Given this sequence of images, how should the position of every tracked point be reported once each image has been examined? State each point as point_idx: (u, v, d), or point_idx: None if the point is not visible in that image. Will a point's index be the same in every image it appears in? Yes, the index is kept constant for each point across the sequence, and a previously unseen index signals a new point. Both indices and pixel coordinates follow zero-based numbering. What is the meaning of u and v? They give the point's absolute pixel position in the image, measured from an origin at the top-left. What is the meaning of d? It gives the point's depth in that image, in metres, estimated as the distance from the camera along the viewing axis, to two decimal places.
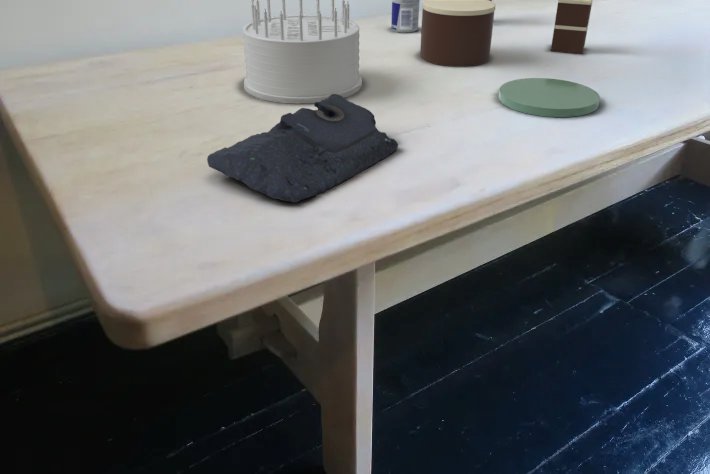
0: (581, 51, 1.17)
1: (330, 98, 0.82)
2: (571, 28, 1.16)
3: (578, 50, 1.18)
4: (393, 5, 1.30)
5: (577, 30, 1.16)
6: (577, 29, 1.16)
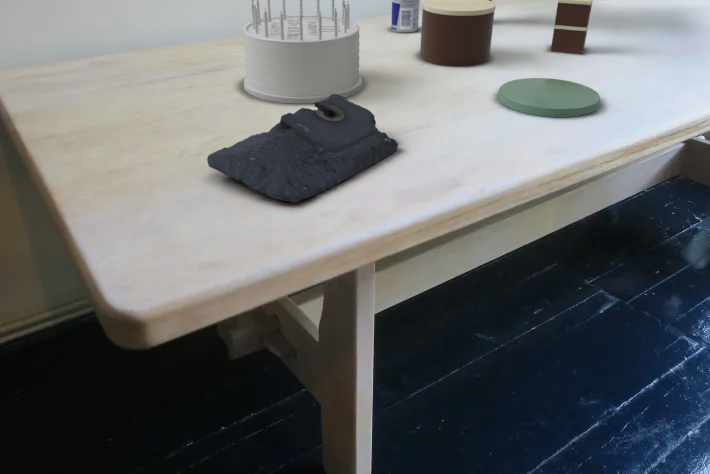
0: (581, 51, 1.17)
1: (330, 98, 0.82)
2: (571, 28, 1.16)
3: (578, 50, 1.18)
4: (393, 5, 1.30)
5: (577, 30, 1.16)
6: (577, 29, 1.16)
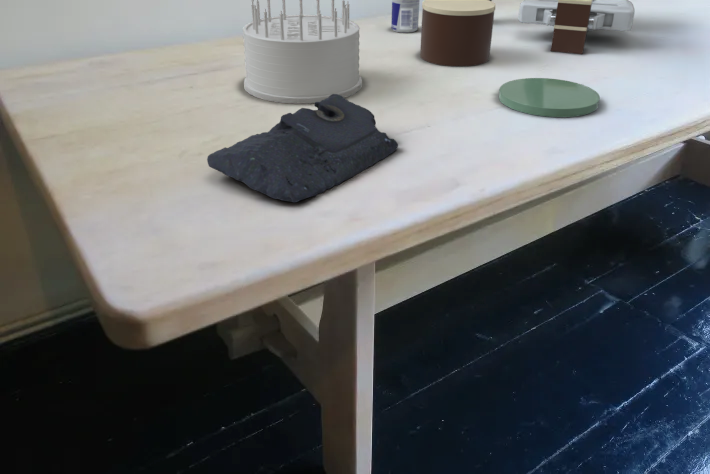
0: (581, 51, 1.17)
1: (330, 98, 0.82)
2: (571, 28, 1.16)
3: (578, 50, 1.18)
4: (393, 5, 1.30)
5: (577, 30, 1.16)
6: (577, 29, 1.16)
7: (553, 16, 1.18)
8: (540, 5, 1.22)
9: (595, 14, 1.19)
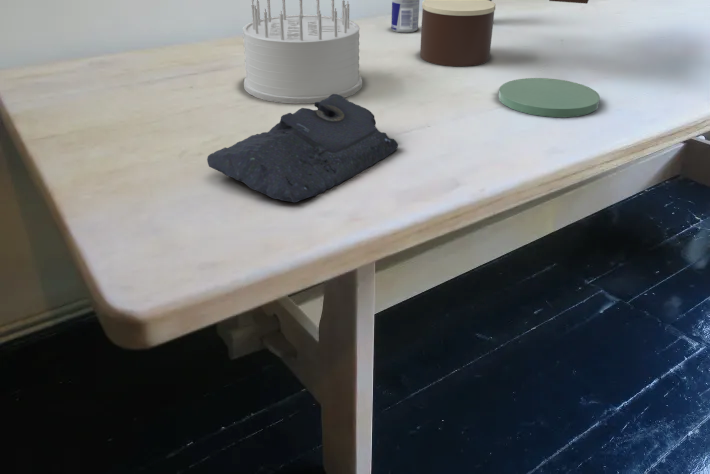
0: (586, 0, 0.97)
1: (330, 98, 0.82)
2: None
3: None
4: (393, 5, 1.30)
5: None
6: None
7: None
8: None
9: None
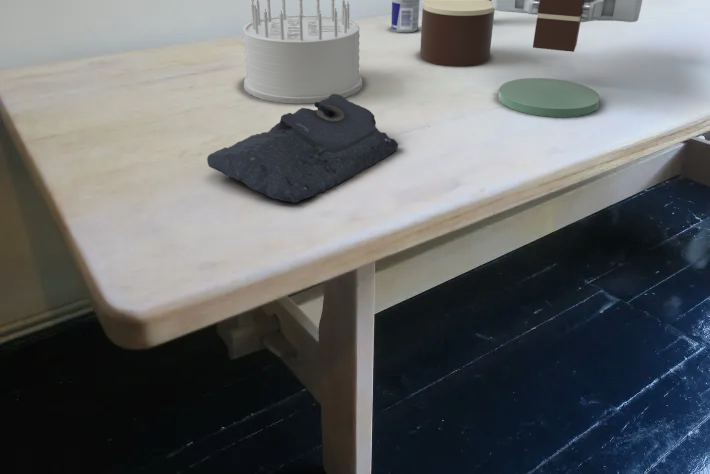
0: (572, 48, 0.89)
1: (330, 98, 0.82)
2: (559, 17, 0.88)
3: (568, 47, 0.90)
4: (393, 5, 1.30)
5: (567, 20, 0.88)
6: (567, 19, 0.88)
7: (536, 2, 0.90)
8: None
9: (591, 0, 0.91)
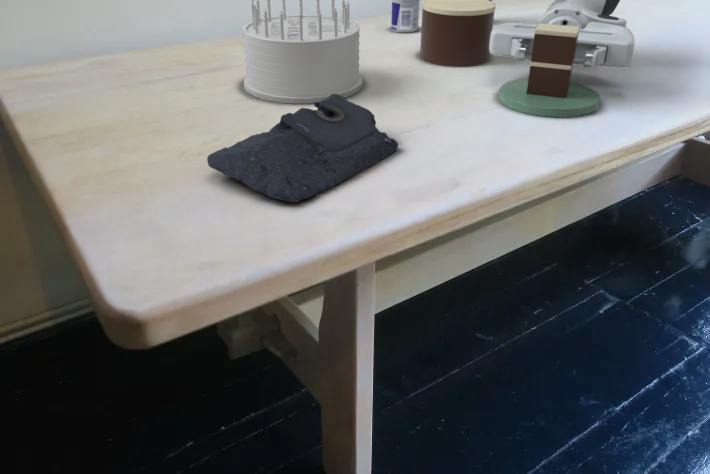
0: (564, 95, 0.93)
1: (330, 98, 0.82)
2: (552, 66, 0.92)
3: (561, 93, 0.93)
4: (393, 5, 1.30)
5: (559, 69, 0.91)
6: (559, 67, 0.91)
7: (522, 48, 0.93)
8: (515, 34, 0.97)
9: (594, 47, 0.94)
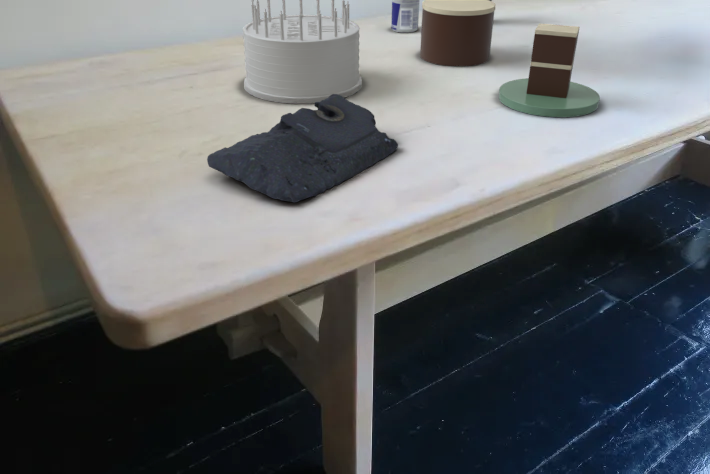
0: (564, 95, 0.93)
1: (330, 98, 0.82)
2: (552, 66, 0.92)
3: (561, 93, 0.93)
4: (393, 5, 1.30)
5: (559, 69, 0.91)
6: (559, 67, 0.91)
7: None
8: None
9: None
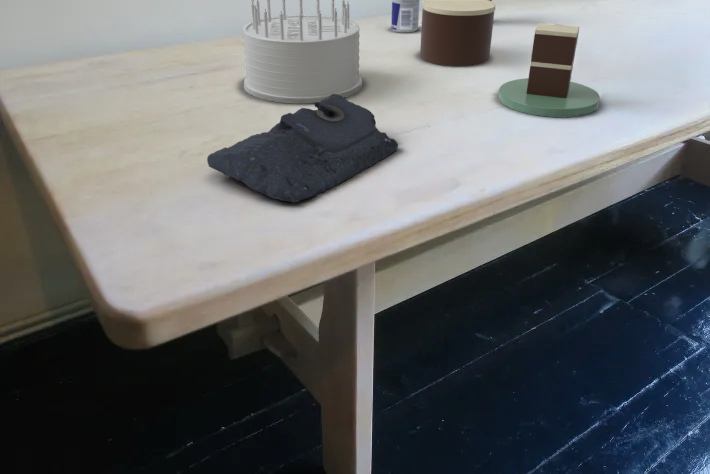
0: (564, 95, 0.93)
1: (330, 98, 0.82)
2: (552, 66, 0.92)
3: (561, 93, 0.93)
4: (393, 5, 1.30)
5: (559, 69, 0.91)
6: (559, 67, 0.91)
7: None
8: None
9: None
